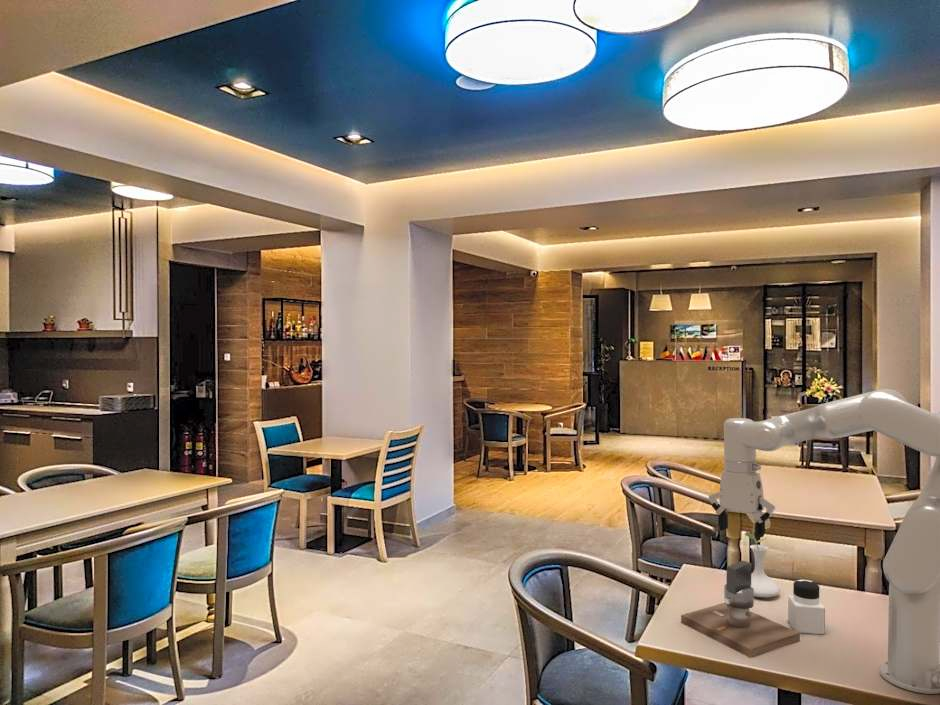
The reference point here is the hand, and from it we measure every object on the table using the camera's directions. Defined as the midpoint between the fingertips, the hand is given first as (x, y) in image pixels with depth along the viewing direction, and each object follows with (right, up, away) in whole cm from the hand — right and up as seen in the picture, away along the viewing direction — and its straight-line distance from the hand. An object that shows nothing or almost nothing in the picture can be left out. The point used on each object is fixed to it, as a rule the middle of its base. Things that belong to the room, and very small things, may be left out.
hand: (741, 533), depth 171 cm
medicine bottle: (+18, -26, +3) cm, 32 cm away
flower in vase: (+16, -25, +27) cm, 40 cm away
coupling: (-1, -18, 0) cm, 18 cm away
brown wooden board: (0, -26, +1) cm, 26 cm away
